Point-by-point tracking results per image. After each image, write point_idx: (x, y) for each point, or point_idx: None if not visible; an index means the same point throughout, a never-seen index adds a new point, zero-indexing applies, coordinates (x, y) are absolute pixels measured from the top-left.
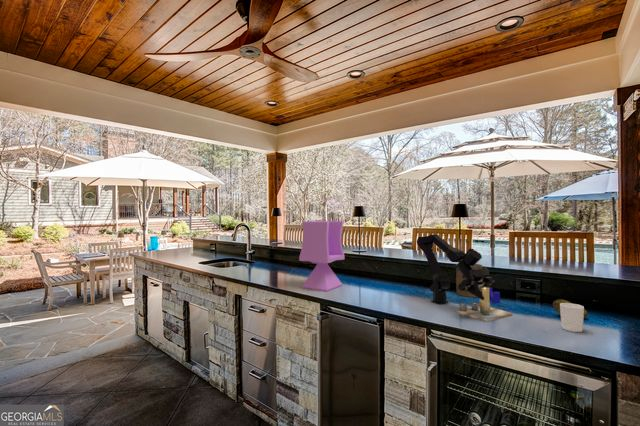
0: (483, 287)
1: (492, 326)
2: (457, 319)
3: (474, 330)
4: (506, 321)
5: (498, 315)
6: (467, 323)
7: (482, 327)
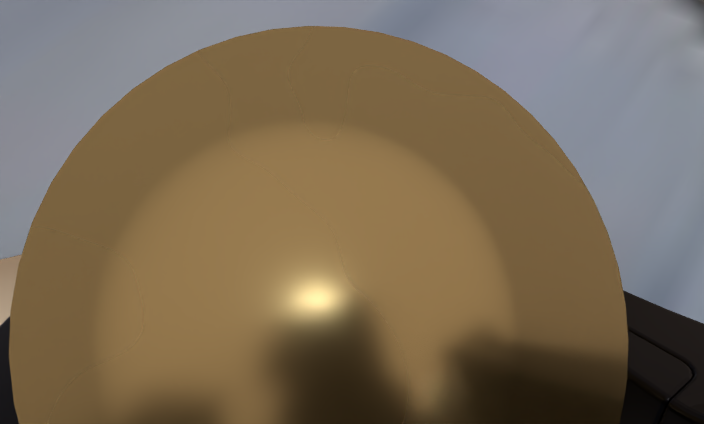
0: (471, 258)
1: (403, 34)
2: None
3: (662, 6)
4: (55, 124)
5: (3, 298)
6: (623, 200)
7: (534, 45)
